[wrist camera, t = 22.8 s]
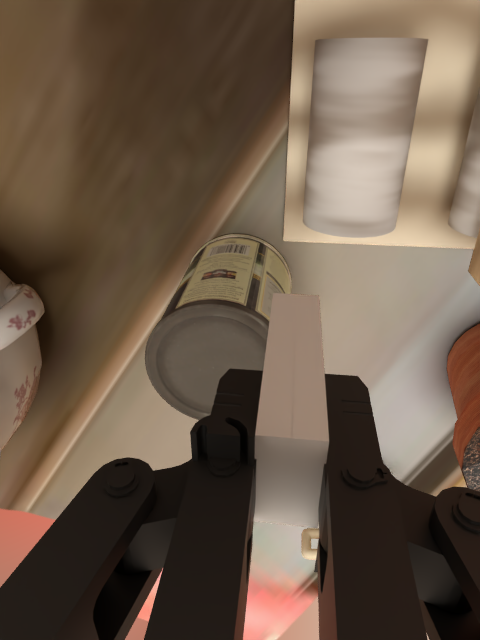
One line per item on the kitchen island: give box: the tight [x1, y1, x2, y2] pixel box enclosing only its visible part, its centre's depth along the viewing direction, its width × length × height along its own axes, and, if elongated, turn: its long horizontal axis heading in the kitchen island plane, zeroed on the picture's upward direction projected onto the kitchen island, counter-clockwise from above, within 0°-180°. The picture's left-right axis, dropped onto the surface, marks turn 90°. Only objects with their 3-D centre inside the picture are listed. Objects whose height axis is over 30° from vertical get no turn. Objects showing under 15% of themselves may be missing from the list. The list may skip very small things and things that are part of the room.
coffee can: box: [145, 234, 292, 420], centre depth 38 cm, size 10×10×14 cm
